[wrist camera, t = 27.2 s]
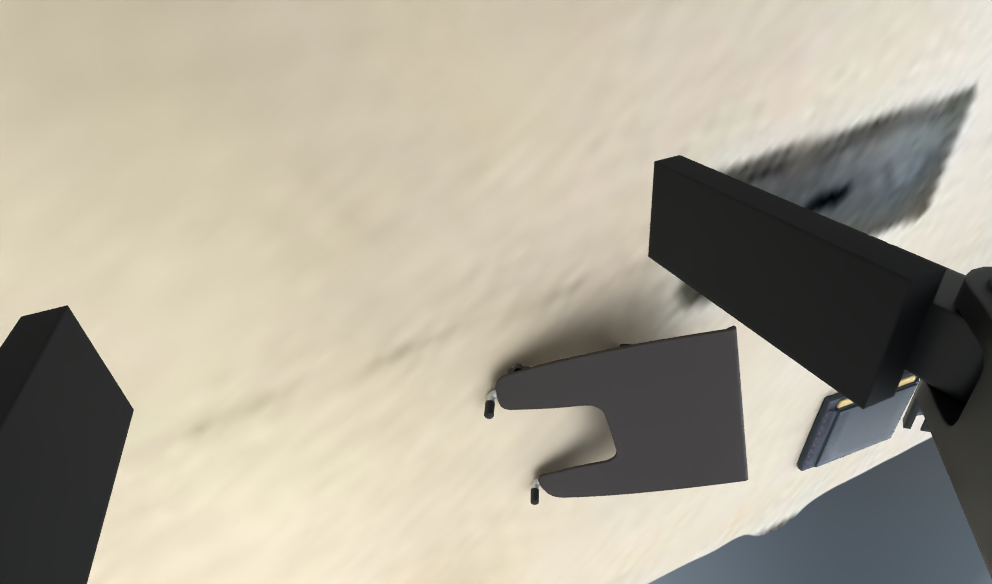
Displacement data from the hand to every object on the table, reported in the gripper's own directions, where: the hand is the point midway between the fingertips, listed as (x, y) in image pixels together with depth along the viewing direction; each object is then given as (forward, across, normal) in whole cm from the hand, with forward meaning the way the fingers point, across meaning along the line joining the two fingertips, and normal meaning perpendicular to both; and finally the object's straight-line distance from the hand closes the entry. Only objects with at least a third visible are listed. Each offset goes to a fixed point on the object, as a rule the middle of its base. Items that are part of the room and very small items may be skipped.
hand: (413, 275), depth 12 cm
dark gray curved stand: (+27, +20, -36) cm, 49 cm away
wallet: (+27, +67, -60) cm, 94 cm away
